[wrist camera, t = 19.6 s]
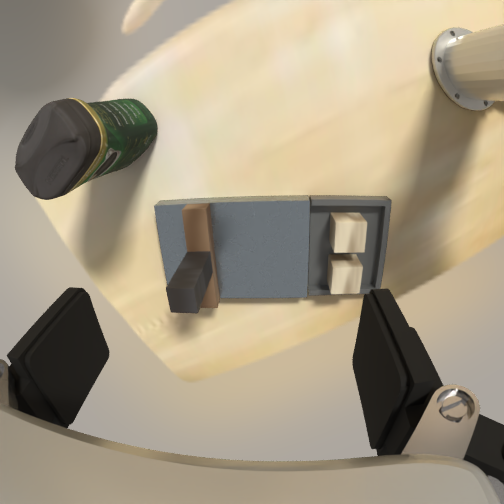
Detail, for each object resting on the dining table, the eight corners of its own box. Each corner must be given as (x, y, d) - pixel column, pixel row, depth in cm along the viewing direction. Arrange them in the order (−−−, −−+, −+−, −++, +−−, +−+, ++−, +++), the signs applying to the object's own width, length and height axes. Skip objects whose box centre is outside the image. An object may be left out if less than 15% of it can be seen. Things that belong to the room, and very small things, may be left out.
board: (307, 195, 40) (309, 200, 38) (305, 288, 46) (306, 297, 44) (160, 200, 42) (154, 205, 40) (174, 288, 48) (169, 297, 45)
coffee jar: (133, 89, 36) (45, 83, 19) (168, 129, 38) (94, 145, 21) (89, 138, 39) (-2, 162, 22) (121, 176, 41) (39, 220, 24)
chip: (330, 212, 40) (359, 212, 40) (329, 240, 42) (357, 240, 42) (335, 222, 37) (367, 222, 36) (334, 252, 38) (364, 252, 38)
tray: (386, 196, 39) (391, 200, 38) (375, 286, 45) (379, 293, 43) (310, 195, 40) (311, 199, 38) (307, 288, 46) (308, 295, 44)
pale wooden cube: (328, 254, 43) (356, 254, 43) (326, 279, 45) (353, 278, 44) (333, 267, 39) (362, 267, 39) (330, 294, 41) (359, 293, 41)
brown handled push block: (209, 203, 39) (186, 237, 29) (220, 298, 45) (205, 351, 34) (186, 204, 39) (156, 238, 29) (199, 297, 45) (180, 350, 35)
